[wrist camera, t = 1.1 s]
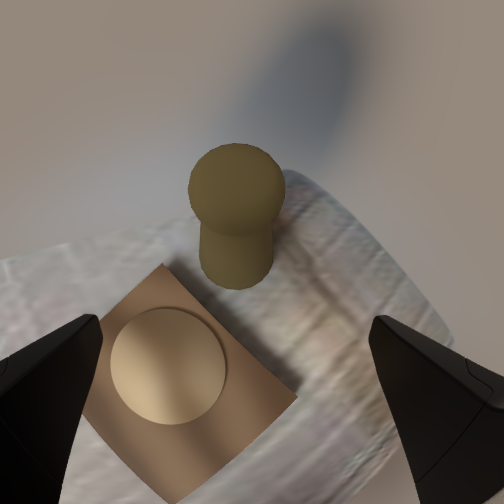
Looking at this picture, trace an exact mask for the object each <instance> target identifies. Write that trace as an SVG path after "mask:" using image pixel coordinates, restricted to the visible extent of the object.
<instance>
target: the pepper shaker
mask: <svg viewBox="0 0 504 504" xmlns="http://www.w3.org/2000/svg"><path fill="white" fill-rule="evenodd" d="M188 194H189V199H190V204H191V208H192V209H193V211H194V213H195V214H196V216H197V217H198V219H199V220H200V221H201V227H200V248H199V258H200V263H201V268H202V269H203V271H204V273H205V274H206V276H207V277H208V278H209V279H210V280H211V281H213V282H214V283H215V284H216V285H219V286H221V287H224V288H226V289H234V290H241V289H245V288H250V287H252V286H254V285H256V284H257V283H259V282H261V281H262V280H263V278H264V277H265V276H266V275H267V274H268V273H269V270H270V268H271V265H272V263H273V235H272V221H273V219H274V218H275V217H276V216H277V215H278V214H279V211H280V209H281V207H282V204H283V201H284V198H285V181H284V177H283V174H282V171H281V169H280V167H279V165H278V164H277V163H276V162H275V161H274V160H273V159H272V157H270V155H269V154H268V153H266V152H264V151H263V150H261V149H260V148H257V147H254V146H251V145H248V144H237V143H233V144H227V145H222V146H219V147H217V148H215V149H212V150H210V151H209V152H208V153H207V154H205V155H204V156H203V157H202V158H201V159H200V160H199V161H198V162H197V164H196V165H195V167H194V168H193V170H192V172H191V176H190V181H189V186H188Z"/></svg>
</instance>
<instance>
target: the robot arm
mask: <svg viewBox="0 0 504 504" xmlns="http://www.w3.org/2000/svg"><path fill="white" fill-rule="evenodd" d="M102 344H103V333H102V330H101V326H100V323H99V319H98V317H97V316H96V315H94V314H84V315H82V316H80V317H78V318H77V319H75V320H73V321H71V322H69V323H67V324H66V325H64V326H62V327H60V328H58V329H56V330H55V331H53V332H51V333H49V334H47V335H46V336H44V337H42V338H40V339H38V340H37V341H35V342H33V343H31V344H30V345H28V346H26V347H24V348H22V349H21V350H19V351H17V352H15V353H14V354H12V355H10V356H9V357H6V358H5V359H3V360H1V361H0V504H59V499H60V494H61V490H62V484H63V480H64V476H65V472H66V468H67V464H68V460H69V456H70V452H71V449H72V445H73V441H74V438H75V435H76V431H77V428H78V425H79V421H80V418H81V415H82V412H83V409H84V406H85V403H86V400H87V397H88V394H89V391H90V388H91V385H92V382H93V379H94V376H95V372H96V367H97V363H98V359H99V355H100V351H101V348H102ZM369 345H370V349H371V352H372V356H373V360H374V363H375V367H376V371H377V375H378V378H379V381H380V384H381V386H382V389H383V392H384V394H385V397H386V400H387V402H388V405H389V408H390V410H391V413H392V416H393V419H394V422H395V424H396V427H397V430H398V433H399V436H400V439H401V442H402V445H403V448H404V451H405V454H406V457H407V460H408V463H409V466H410V469H411V473H412V476H413V479H414V483H415V486H416V490H417V493H418V497H419V500H420V504H504V377H503V376H501V375H499V374H497V373H495V372H492V371H490V370H488V369H486V368H484V367H482V366H480V365H478V364H476V363H475V362H473V361H471V360H469V359H467V358H465V357H463V356H461V355H460V354H458V353H456V352H454V351H452V350H451V349H449V348H447V347H445V346H443V345H441V344H439V343H438V342H436V341H434V340H432V339H430V338H428V337H427V336H425V335H423V334H421V333H419V332H417V331H415V330H414V329H412V328H410V327H408V326H406V325H404V324H402V323H401V322H399V321H397V320H395V319H393V318H391V317H389V316H387V315H379V316H376V317H375V318H374V319H373V323H372V326H371V330H370V333H369Z"/></svg>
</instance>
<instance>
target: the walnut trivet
mask: <svg viewBox="0 0 504 504" xmlns="http://www.w3.org/2000/svg"><path fill="white" fill-rule="evenodd" d="M99 323H100V326H101V330H102V333H103V344H102V348H101V351H100V355H99V359H98V363H97V367H96V372H95V376H94V379H93V382H92V385H91V388H90V391H89V394H88V397H87V400H86V403H85V406H84V409H83V412H82V414H83V416H84V417H85V418H86V419H87V421H88V422H89V423H90V424H91V426H92V427H93V428H94V429H95V431H96V432H97V433H98V434H99V435H100V436H101V438H102V439H103V440H104V441H105V442H106V443H107V445H108V446H109V447H110V448H111V449H112V450H113V451H114V452H115V453H116V454H117V456H118V457H119V458H120V459H121V460H122V461H123V462H124V463H125V464H126V465H127V466H128V467H129V468H130V469H131V470H132V471H133V472H134V473H135V474H136V475H137V476H138V477H139V478H140V479H141V480H142V481H143V482H144V483H145V484H147V485H148V486H149V487H150V488H151V489H152V490H153V491H154V492H155V493H156V494H158V495H159V496H160V497H161V498H162V499H163V500H165V501H166V502H167V503H168V504H176V503H177V502H178V501H180V500H181V499H183V498H184V497H185V496H187V495H188V494H189V493H191V492H192V491H194V490H195V489H196V488H198V487H199V486H200V485H201V484H203V483H204V482H205V481H207V480H208V479H209V478H210V477H212V476H213V475H214V474H215V473H217V472H218V471H219V470H220V469H222V468H223V467H224V466H225V465H226V464H228V463H229V462H230V461H231V460H232V459H233V458H235V457H236V456H237V455H238V454H239V453H240V452H241V451H243V450H244V449H245V448H246V447H247V446H248V445H249V444H250V443H252V442H253V441H254V440H255V439H256V438H257V437H258V436H259V435H260V434H261V433H262V432H263V431H264V430H265V429H267V428H268V427H269V426H270V425H271V424H272V423H273V422H274V421H275V420H276V419H277V418H278V417H279V416H280V415H281V414H282V413H283V412H284V411H285V410H286V409H287V408H288V407H289V406H290V405H291V404H292V403H293V402H294V401H295V400H296V399H297V397H298V396H297V395H295V394H294V393H293V392H292V391H291V390H290V389H289V388H287V387H286V386H285V385H284V384H283V383H282V382H281V381H280V380H279V379H277V378H276V377H275V376H274V375H273V374H272V373H271V372H270V371H269V370H268V369H267V368H265V367H264V366H263V365H262V364H261V363H260V362H259V361H258V360H257V359H256V358H255V357H254V356H253V355H252V354H250V353H249V352H248V351H247V350H246V349H245V348H244V347H243V346H242V345H241V344H240V343H239V342H238V341H237V340H236V339H235V338H234V337H233V336H232V335H231V334H230V333H229V332H228V331H227V330H226V329H225V328H224V327H223V326H222V325H221V324H220V323H219V322H218V321H217V320H216V319H215V318H214V317H213V316H212V315H211V314H210V313H209V312H208V311H207V310H206V309H205V308H204V307H203V306H202V305H201V304H200V303H199V302H198V301H197V300H196V299H195V298H194V297H193V296H192V295H191V294H190V293H189V292H188V290H187V289H186V288H185V287H184V286H183V285H182V284H181V283H180V282H179V281H178V280H177V279H176V278H175V277H174V276H173V274H172V273H171V272H170V271H169V270H168V269H167V268H166V267H165V266H164V265H163V263H162V264H161V265H160V266H158V267H157V268H156V269H155V270H154V271H153V272H152V273H151V274H150V275H148V276H147V277H146V278H145V279H144V280H143V281H142V282H141V283H140V284H139V285H138V286H136V287H135V288H134V289H133V290H132V291H131V292H130V293H129V294H128V295H127V296H126V297H125V298H124V299H122V300H121V301H120V302H119V303H118V304H117V305H116V306H115V307H114V308H113V309H112V310H111V311H110V312H109V313H108V314H107V315H106V316H104V317H103V318H102V319H101V320H100V321H99Z"/></svg>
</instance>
